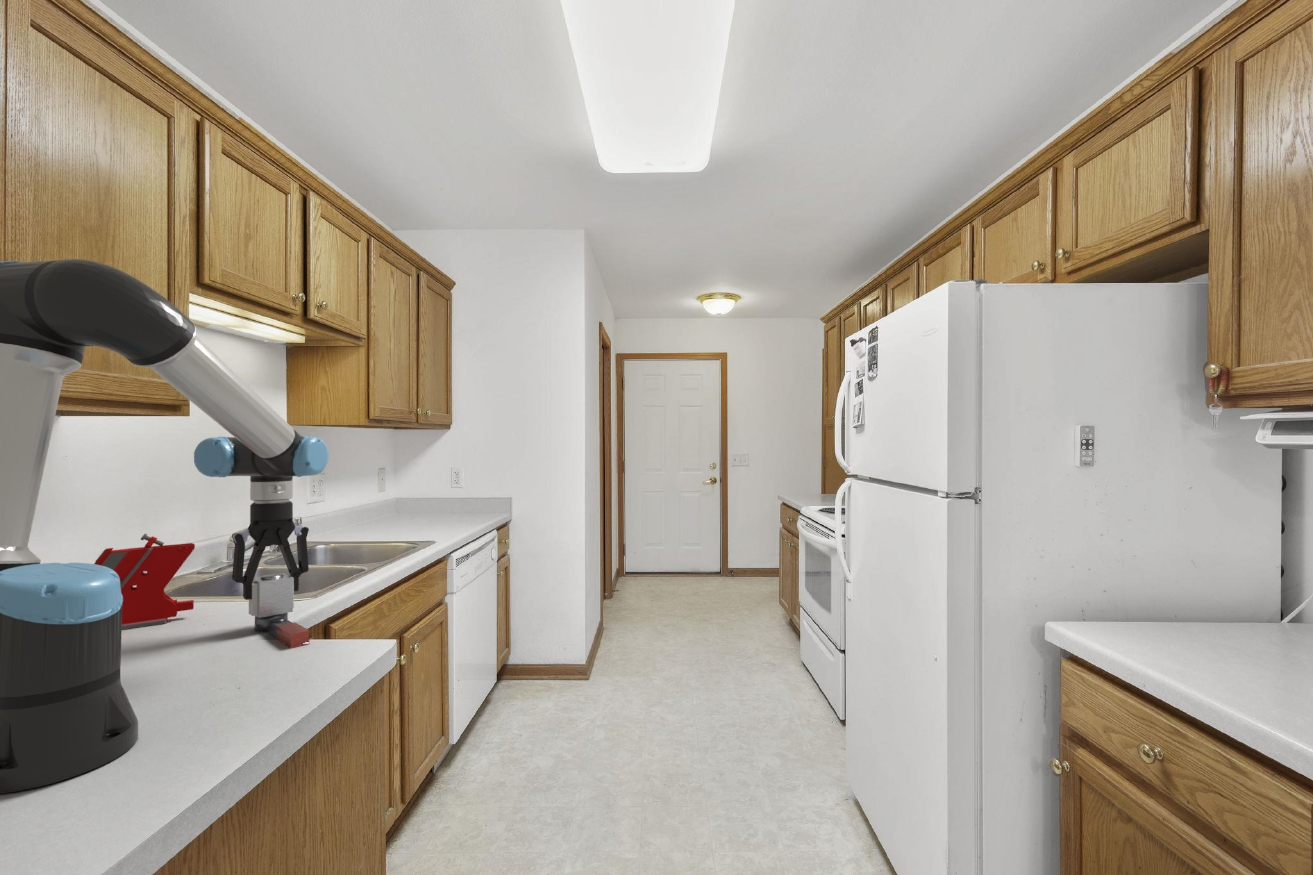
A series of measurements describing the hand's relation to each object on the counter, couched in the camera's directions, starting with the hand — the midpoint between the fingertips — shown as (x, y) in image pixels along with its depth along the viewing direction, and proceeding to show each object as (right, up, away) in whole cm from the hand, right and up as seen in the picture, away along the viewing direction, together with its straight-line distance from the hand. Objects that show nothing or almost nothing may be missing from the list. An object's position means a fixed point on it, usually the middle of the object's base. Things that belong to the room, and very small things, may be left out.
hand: (271, 610), depth 123 cm
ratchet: (+5, -4, -5) cm, 8 cm away
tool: (-33, -4, 0) cm, 34 cm away
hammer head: (0, 0, 0) cm, 0 cm away
